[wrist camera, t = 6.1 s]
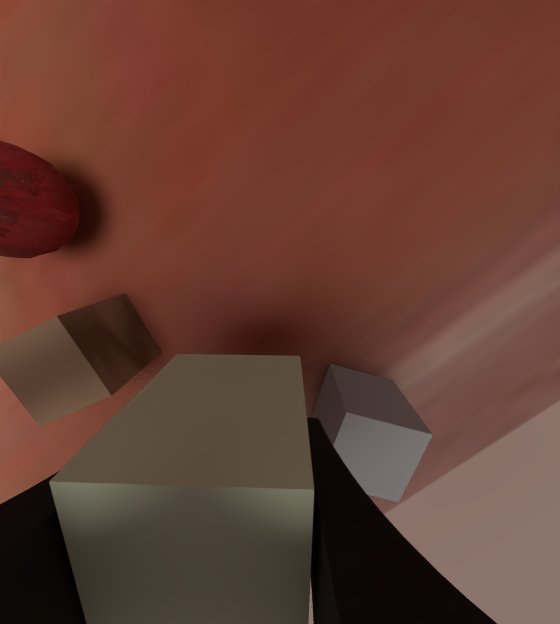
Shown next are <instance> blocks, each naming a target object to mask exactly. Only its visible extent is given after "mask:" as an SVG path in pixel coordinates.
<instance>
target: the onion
mask: <svg viewBox="0 0 560 624" xmlns="http://www.w3.org/2000/svg"><path fill="white" fill-rule="evenodd" d="M79 214H80V205H79V203H78V200H77V198H76V195H75V193H74V190H73V188H72V186H71V185H70V184H69V183H68V182H67V181H66V180H65V179H64V177H63V176H62V175H61V174H60V173H59V172H58V171H57V170H56V169H55V168H54V167H53V166H52V165H51V163H49V162H47V161H45V160H44V159H42V158H40V157H39V156H37V155H35V154H33V153H30V152H28V151H26V150H24V149H22V148H20V147H18V146H16V145H12V144H9V143H6V142H3V141H0V256H6V257H15V258H32V257H35V256H39V255H42V254H46V253H50V252H53V251H57V250H58V249H59V248H60V247H61V246H63V245H64V244H65V243H66V242H67V241H68V240H70V239H71V238H72V237H73V236H74V233H75V231H76V229H77V227H78V225H79Z"/></svg>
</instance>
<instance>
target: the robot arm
mask: <svg viewBox="0 0 560 624" xmlns="http://www.w3.org/2000/svg"><path fill="white" fill-rule="evenodd" d="M307 424H308V434H309V444H310V453H311V463H312V472H313V482H314V508H313V530H312V552H311V574H310V577H311V587H312V602H313V618H314V619H313V620H314V624H497V623H496V622H495V621H493V620H492V619H491V618H490V617H489V616H487V615H486V614H485V613H484V612H483V611H482V610H480V609H479V608H478V607H477V606H476V605H474V604H473V603H472V602H471V601H470V600H469V599H467V598H466V597H465V596H464V595H463V594H462V593H461V592H460V591H459V590H458V589H456V588H455V587H454V586H453V585H452V584H451V583H450V582H449V581H448V580H447V579H446V578H444V577H443V576H442V575H441V574H440V573H439V572H438V571H437V570H436V569H435V568H434V567H433V566H432V565H431V564H430V563H429V562H428V561H427V560H426V559H425V558H424V557H423V556H422V555H421V554H420V553H419V552H418V551H417V550H416V549H415V548H414V547H413V546H412V545H411V544H410V543H409V542H408V541H407V540H406V539H405V538H404V537H403V535H402V534H401V533H400V532H399V531H398V530H397V529H396V528H395V527H394V526H393V524H392V523H391V522H390V521H389V520H388V519H387V518H386V517H385V515H384V514H383V513H382V512H381V511H380V510H379V508H378V507H377V506H376V505H375V504H374V502H373V501H372V500H371V499H370V497H369V496H368V495H367V494H366V492H365V491H364V490H363V488H362V487H361V486H360V484H359V483H358V482H357V480H356V479H355V478H354V476H353V475H352V474H351V472H350V471H349V469H348V468H347V466H346V465H345V463H344V462H343V460H342V459H341V457H340V456H339V454H338V453H337V451H336V449H335V448H334V446H333V444H332V443H331V441H330V439H329V437H328V436H327V434H326V432H325V430H324V428H323V426H322V424H321V422H320V420H319V419H318V418H307ZM58 472H59V471H58ZM58 472H57V473H58ZM57 473H55V474H54V475H52V476H50V477H48V478H47V479H45V480H43V481H42V482H40V483H38V484H36V485H35V486H33V487H31V488H29V489H28V490H26V491H24V492H22V493H20V494H18V495H17V496H15V497H13V498H11V499H9V500H7V501H6V502H4V503H2V504H0V624H86V620H85V616H84V612H83V609H82V605H81V601H80V597H79V593H78V590H77V586H76V582H75V578H74V574H73V571H72V567H71V563H70V559H69V555H68V552H67V548H66V544H65V540H64V537H63V533H62V529H61V525H60V521H59V518H58V514H57V510H56V506H55V502H54V499H53V495H52V491H51V487H50V483H49V481H50V480H51V479H52V478H53V477H54V476H55V475H56V474H57Z"/></svg>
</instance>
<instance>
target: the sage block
mask: <svg viewBox="0 0 560 624" xmlns="http://www.w3.org/2000/svg"><path fill="white" fill-rule="evenodd" d="M49 483H50V487H51V491H52V495H53V499H54V502H55V506H56V510H57V514H58V518H59V521H60V525H61V529H62V533H63V537H64V540H65V544H66V548H67V552H68V555H69V559H70V563H71V567H72V571H73V574H74V578H75V582H76V586H77V590H78V593H79V597H80V601H81V605H82V609H83V612H84V616H85V620H86V624H308V618H309V596H310V574H311V552H312V530H313V508H314V482H313V472H312V463H311V453H310V444H309V434H308V424H307V415H306V405H305V396H304V386H303V377H302V367H301V358H300V356H278V355H216V354H176V355H175V356H174V357H173V358H172V359H171V360H170V361H169V362H168V363H167V364H166V365H165V366H164V367H163V368H162V369H161V370H160V371H159V372H158V373H157V374H156V375H155V376H154V377H153V378H152V379H151V380H150V381H149V382H148V383H147V384H146V385H145V386H144V387H143V388H142V389H141V390H140V391H139V392H138V393H137V394H136V395H135V396H134V397H133V398H132V399H131V400H130V401H129V402H128V403H127V404H126V405H125V406H124V407H123V408H122V409H121V410H120V411H119V412H118V413H117V414H116V415H115V416H114V417H113V418H112V419H111V420H110V421H109V422H108V423H107V424H106V425H105V426H104V427H103V428H102V429H101V430H100V431H99V432H98V433H97V434H96V435H95V436H94V437H93V438H92V439H91V440H90V441H89V442H88V443H87V444H86V445H85V446H84V447H83V448H82V449H81V450H80V451H79V452H78V453H77V454H76V455H75V456H74V457H73V458H72V459H71V460H70V461H69V462H68V463H67V464H66V465H65V466H64V467H63V468H62V469H61V470H60V471H59V472H58V473H57V474H56V475H55V476H54V477H53V478H52V479H51V480H50V481H49Z"/></svg>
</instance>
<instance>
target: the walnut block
mask: <svg viewBox="0 0 560 624" xmlns="http://www.w3.org/2000/svg"><path fill="white" fill-rule="evenodd" d="M160 353H161V351H160V349H159V348H158V346H157V345H156V343H155V341H154V340H153V338H152V336H151V335H150V333H149V331H148V330H147V328H146V327H145V325H144V323H143V322H142V320H141V318H140V317H139V315H138V313H137V312H136V310H135V308H134V307H133V305H132V304H131V302H130V300H129V299H128V297H127V295H126V294H123V295H120V296H117V297H114V298H111V299H108V300H105V301H102V302H99V303H96V304H93V305H90V306H86V307H83V308H80V309H77V310H74V311H71V312H68V313H65V314H62V315H59V316H56V317H54V318H52V319H50V320H48V321H46V322H44V323H42V324H40V325H38V326H36V327H34V328H32V329H30V330H28V331H26V332H24V333H22V334H20V335H18V336H16V337H14V338H12V339H10V340H8V341H6V342H4V343H2V344H0V376H1V378H2V379H3V380H4V381H5V383H6V384H7V385H8V386H9V388H10V389H11V390H12V392H13V393H14V394H15V395H16V397H17V398H18V399H19V400H20V402H21V403H22V404H23V406H24V407H25V408H26V409H27V411H28V412H29V413H30V414H31V416H32V417H33V418H34V419H35V421H36V422H37V423H38V425H39V426H43V425H45V424H47V423H50V422H52V421H54V420H57V419H59V418H61V417H64V416H66V415H68V414H71V413H73V412H75V411H78V410H80V409H82V408H84V407H87V406H89V405H91V404H94V403H96V402H98V401H101V400H103V399H105V398H108V397H110V396H112V395H113V394H114V393H115V392H116V391H118V390H119V389H120V388H121V387H122V386H123V385H124V384H126V383H127V382H128V381H129V380H130V379H131V378H132V377H133V376H135V375H136V374H137V373H138V372H139V371H140V370H141V369H143V368H144V367H145V366H146V365H147V364H148V363H149V362H151V361H152V360H153V359H154V358H155V357H156V356H157V355H159V354H160Z"/></svg>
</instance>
